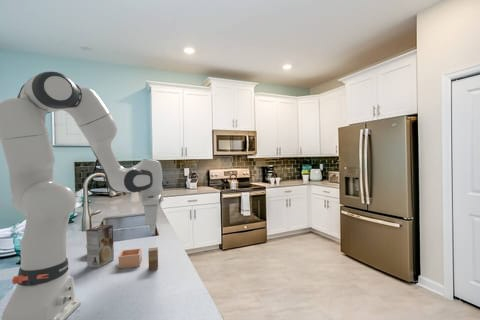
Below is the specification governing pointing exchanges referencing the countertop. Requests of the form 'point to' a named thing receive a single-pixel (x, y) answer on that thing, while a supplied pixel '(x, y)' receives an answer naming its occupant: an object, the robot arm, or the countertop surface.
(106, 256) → the coffee box
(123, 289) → the countertop surface
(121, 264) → the peach cubby shelf
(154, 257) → the tan plain wooden block
